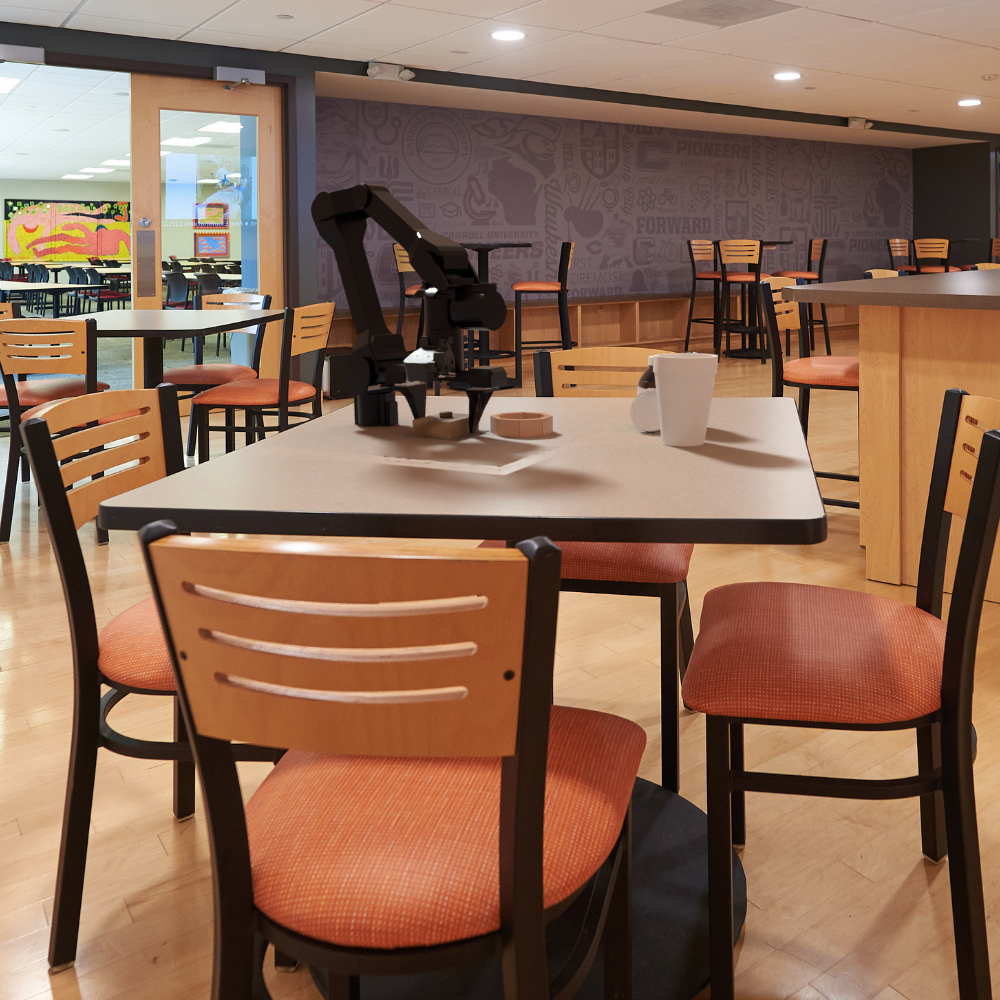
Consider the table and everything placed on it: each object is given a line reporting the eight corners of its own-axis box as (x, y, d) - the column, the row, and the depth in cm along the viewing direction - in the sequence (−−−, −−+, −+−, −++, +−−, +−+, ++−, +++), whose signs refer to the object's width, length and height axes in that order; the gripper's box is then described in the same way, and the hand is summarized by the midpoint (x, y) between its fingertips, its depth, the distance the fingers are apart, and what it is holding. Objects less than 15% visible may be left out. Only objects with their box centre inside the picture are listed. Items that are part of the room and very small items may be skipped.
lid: (413, 436, 150) (412, 414, 149) (443, 428, 158) (442, 407, 157) (449, 439, 147) (449, 417, 146) (478, 430, 155) (478, 409, 154)
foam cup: (714, 449, 142) (718, 358, 139) (650, 447, 144) (652, 358, 141) (714, 438, 151) (717, 353, 148) (653, 437, 153) (655, 353, 150)
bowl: (482, 440, 151) (482, 418, 151) (509, 432, 159) (508, 410, 158) (535, 444, 147) (535, 421, 146) (559, 435, 155) (559, 413, 154)
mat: (401, 442, 150) (401, 435, 150) (435, 433, 159) (435, 426, 159) (458, 446, 146) (458, 440, 146) (490, 437, 155) (490, 430, 154)
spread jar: (692, 423, 167) (694, 354, 165) (708, 433, 156) (711, 359, 154) (622, 424, 167) (623, 355, 164) (633, 434, 156) (634, 360, 153)
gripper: (362, 330, 146) (366, 435, 150) (472, 333, 138) (473, 443, 141) (403, 327, 156) (406, 425, 159) (508, 328, 147) (509, 432, 151)
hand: (446, 431), depth 152 cm, fingers open, 9 cm apart
